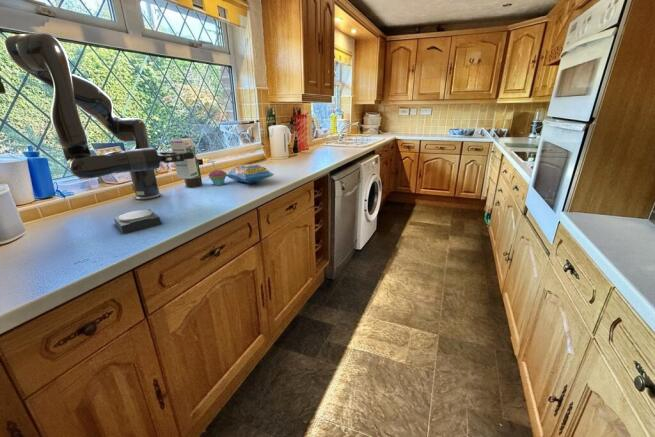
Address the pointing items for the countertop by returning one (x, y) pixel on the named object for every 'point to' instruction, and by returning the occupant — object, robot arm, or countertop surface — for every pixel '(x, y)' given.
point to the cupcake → (217, 176)
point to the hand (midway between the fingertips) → (189, 154)
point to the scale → (136, 220)
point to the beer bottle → (195, 180)
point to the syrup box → (187, 166)
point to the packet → (249, 173)
